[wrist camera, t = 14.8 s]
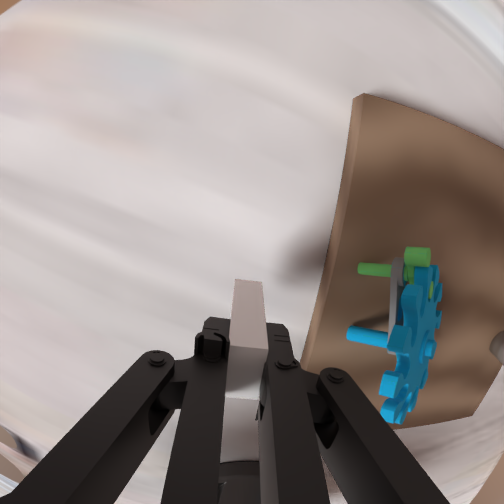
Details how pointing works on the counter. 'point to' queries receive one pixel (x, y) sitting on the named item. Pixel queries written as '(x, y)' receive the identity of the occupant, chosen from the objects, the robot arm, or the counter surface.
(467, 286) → the dowel plate
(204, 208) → the counter surface
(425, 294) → the gear
